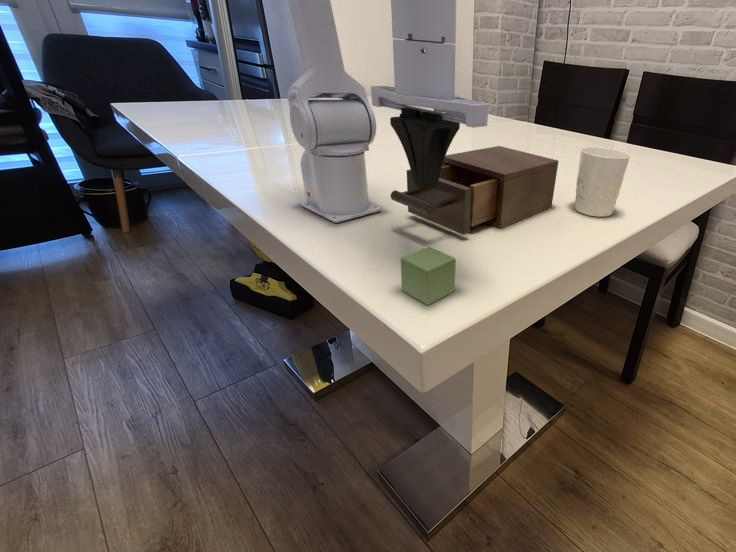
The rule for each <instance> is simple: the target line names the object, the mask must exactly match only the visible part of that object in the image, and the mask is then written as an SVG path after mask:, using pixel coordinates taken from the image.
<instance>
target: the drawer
mask: <svg viewBox="0 0 736 552" xmlns="http://www.w3.org/2000/svg"><path fill="white" fill-rule="evenodd" d="M499 186H500V179H499V178H495V177H492V176H489V175H485V174H482V173H479V172H475V171H472V170H469V169H465V168H462V167H459V166H455V165H452V164H450V165H446V166H442V168H441V172H440V176H439V180H438V184H437V187H434V188H430V189H426V190H423V189H420V188H417V187H416V186H415V183H414V180H413V176H412V172H411V169H410V168H409V169H407V170H406V190H405V191H399V190H393V191H392V192H391V193H390V199H391V200H392V201H394V202H396V203H399V204H401V205H404V206H406V207H407V213H409V214H412V215H415V216H416V217H417V216H418V217H419V218H422V219H425V220H427V221H429V222H431V223H434V224H436V225H438V226H442V227H444V228H446V229H449V230H451V231H453V232H456V233H458V234H460V235H467V234H469V233H470V229H471V228H470V227H472V228H473V227H475V226H479V225H481V224H483V223H484V222H486V221H488V220H491V219H494V218H496V217H497V211H498V199H499Z"/></svg>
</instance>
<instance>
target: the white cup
mask: <svg viewBox="0 0 736 552" xmlns="http://www.w3.org/2000/svg"><path fill="white" fill-rule="evenodd" d="M630 157H631V155H630V154H629V153H628V152H625V151H622V150H619V149H614V148H608V147H600V146H585V147H582V148H581V149H580V155H579V162H578V171H577V177H576V187H575V198H574V199H575V200H574V210H576V212H578V213H581V214H583V215H586V216H590V217H597V218H604V217H610V216H611V215H613V214H614V211H615V207H616V203H617V199H618V198H619V195H620V191H621V188H622V185H623V182H624V178H625V175H626V171H627V168H628V164H629V161H630Z"/></svg>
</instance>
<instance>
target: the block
mask: <svg viewBox="0 0 736 552" xmlns="http://www.w3.org/2000/svg"><path fill="white" fill-rule="evenodd" d="M400 277H401V292H403V293H405V294H407V295H409V296H410V297H412V298H414V299H416V300H417V301H419V302H421V303H423V304H424V305H426V306H429V305H431V304H433V303H435V302H437V301H439V300H440V299H443V298H445V297H446V296H448V295H450V294H452V293H454V292H455V290H456V289H455V288H456V258H455V257H453V256H451V255H449V254H447V253H445V252H442V251H440V250H438V249H436V248H433V247H431V246H427V247H425V248H422V249H419V250H416V251H414V252H411V253H409V254H406V255H404V256H401V257H400Z"/></svg>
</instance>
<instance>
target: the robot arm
mask: <svg viewBox="0 0 736 552" xmlns="http://www.w3.org/2000/svg"><path fill="white" fill-rule="evenodd" d="M287 1H288V6H289V10H290V15H291V19H292V23H293V28H294V31H295V36H296V40H297V44H298V48H299V49H298V50H299V53H300V58H301V62H302V66H303V71H304V73H302V75H301V76H299V78H298V79H297V80H295V81H294V82H293V83H292V84H291V85H290V87H289V89H288V91H287V101H288V107H289V121H290V126H291V130H292V134H293V136H294V138H295V140H296V142H297V143H298V144H299V146H300V147H302V148H303V149H304V151H303V152H302V155H301V158H300V172H301V176H302V182H303V183H302V184H303V190H304V195H305V201H302V202H300V205H301V206H302V207H303V208H305V209H307V210H309V211H311V212H313V213H315V214H317V215H319V216H321V217H323V218H325V219H327V220H328V221H331V222H333V223H342V222H345V221H348V220H352V219H356V218H359V217H364V216H367V215H370V214H374V213H378V212H381V211H382V207H381V206H379V205H376V204H375V203H372V202H369V189H368V177H367V165H366V164H367V163H366V154H365V152H369V151H370V145H372V143H373V142H374V140H375V137H376V134H377V120H376V116H375V113H374V110H373V108H372V107H377V108H382V107H383V108H387V109H392V110H397V111H400V113H399V115H398V116H392V117H390V118H389V123H390V126H391V128H392V129H393V131H394V133H395V134H396V136H397V137H398V140H399V142H400V144H401V146H402V148H403V151H404V154H405V156H406V159H407V162H408V165H409V170H410V169H411V172H412V176H413V180H414V183H415V186H416V187H417V188H420V189H423V190H426V189H430V188H434V187H437V184H438V180H439V176H440V172H441V168H442V165H443V161H444V158H445V155H447V152H448V151H449V148H450V146H451V144H452V142H453V140H454V139H455V137H456V135H457V133H458V132H459V130H460V128H461V127H460V126H461V124H463V125H465V127H468V128H473V129H474V128H480V127H481V128H482V127H488V118H489V103H485V102H480V101H476V100H472V99H469V98H465V97H462V96H460V94H458V93H455V89H456V88H455V87H456V86H455V85H456V83H455V82H456V42H457V41H456V40H457V39H456V37H457V35H456V34H457V0H390V9H391V10H390V11H391V14H390V15H391V34H392V54H393V56H392V57H393V58H392V59H393V75H394V77H393V78H394V86H389V85H388V86H387V85H372V86H371V85H370V95H371V96H370V97H371V104H370V102H369V99H368V95H367V92H366V88H365V87H364V86H363V85H362V84H361V83H360V82H359V81H358V80H356V79H355V78H354V77H352V75H350V74H349V73H347V71H346V70H345V69H346V68H345V65H344V60H343V56H342V50H341V46H340V41H339V35H338V31H337V26H336V21H335V16H334V12H333V6H332V2H331V0H287ZM371 106H372V107H371ZM432 109H433V110H432Z"/></svg>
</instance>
